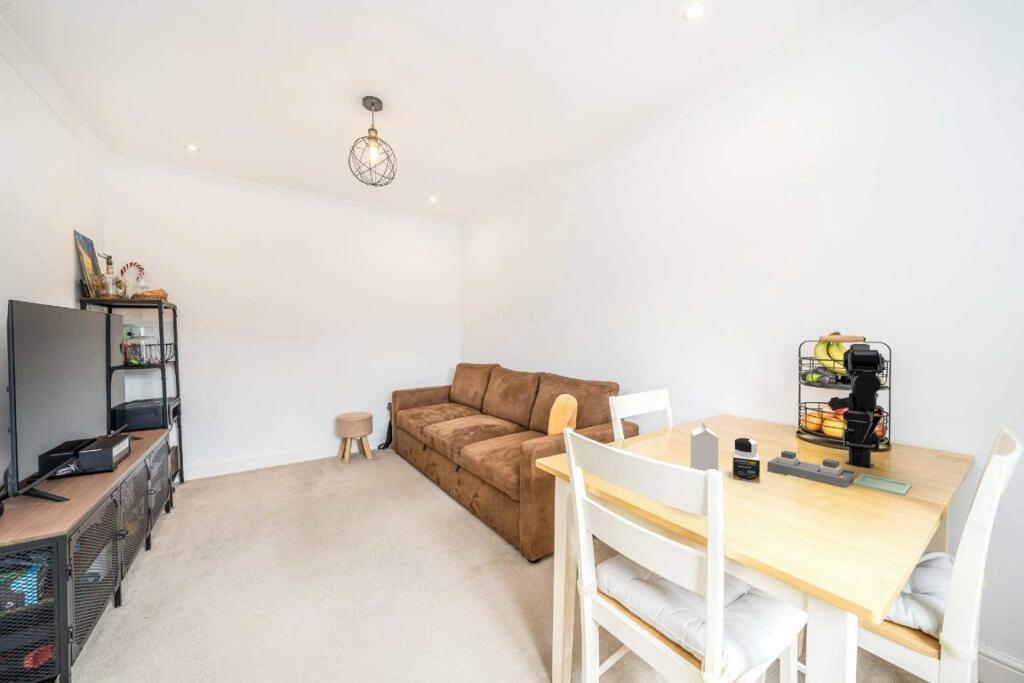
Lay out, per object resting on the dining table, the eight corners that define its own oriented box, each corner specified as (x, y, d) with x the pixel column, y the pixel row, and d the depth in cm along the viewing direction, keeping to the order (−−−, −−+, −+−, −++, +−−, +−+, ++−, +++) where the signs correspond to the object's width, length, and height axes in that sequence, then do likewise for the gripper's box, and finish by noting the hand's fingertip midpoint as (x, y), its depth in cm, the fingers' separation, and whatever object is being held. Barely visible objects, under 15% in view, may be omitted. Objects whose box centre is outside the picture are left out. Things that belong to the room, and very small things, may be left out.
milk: (693, 507, 103) (692, 424, 102) (690, 498, 109) (689, 419, 108) (719, 510, 101) (718, 425, 100) (714, 501, 107) (714, 420, 106)
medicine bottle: (733, 479, 123) (733, 440, 123) (732, 471, 129) (732, 435, 129) (759, 482, 119) (760, 443, 119) (757, 475, 126) (757, 438, 126)
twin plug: (783, 468, 132) (783, 449, 132) (798, 472, 128) (798, 452, 128) (778, 471, 129) (778, 452, 129) (793, 475, 126) (793, 455, 126)
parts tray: (862, 477, 123) (862, 473, 123) (911, 488, 114) (911, 484, 114) (852, 485, 117) (852, 481, 116) (904, 497, 108) (904, 493, 108)
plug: (824, 478, 123) (824, 458, 123) (841, 482, 119) (841, 461, 119) (820, 481, 120) (820, 460, 120) (837, 485, 117) (837, 464, 117)
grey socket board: (778, 465, 135) (778, 455, 135) (854, 482, 119) (854, 471, 119) (767, 470, 130) (767, 460, 130) (845, 489, 113) (845, 478, 113)
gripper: (840, 385, 134) (839, 430, 134) (822, 390, 122) (822, 439, 123) (884, 388, 125) (884, 437, 125) (869, 394, 114) (869, 447, 114)
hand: (863, 440), depth 122 cm, fingers open, 9 cm apart
